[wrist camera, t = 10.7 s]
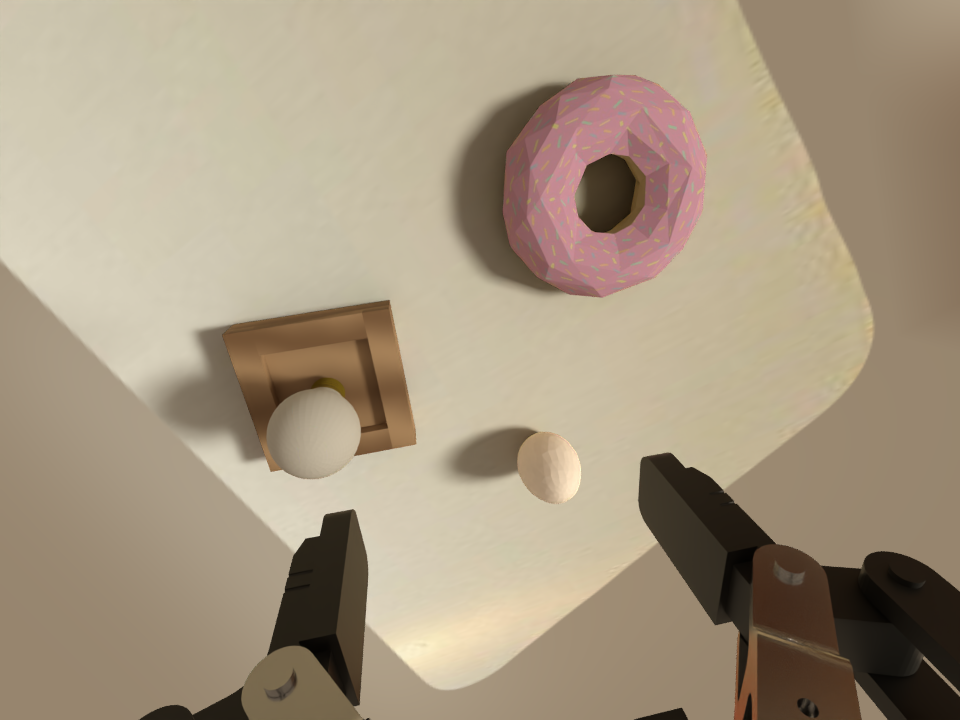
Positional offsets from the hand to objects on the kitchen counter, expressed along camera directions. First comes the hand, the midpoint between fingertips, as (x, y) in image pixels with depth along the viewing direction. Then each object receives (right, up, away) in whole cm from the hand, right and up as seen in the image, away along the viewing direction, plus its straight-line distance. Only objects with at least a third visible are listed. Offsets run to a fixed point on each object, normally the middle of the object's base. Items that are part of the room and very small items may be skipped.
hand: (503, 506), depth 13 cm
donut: (+8, +17, +24) cm, 31 cm away
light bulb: (-13, +2, +25) cm, 28 cm away
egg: (+5, -4, +32) cm, 32 cm away
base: (-13, +2, +26) cm, 29 cm away
